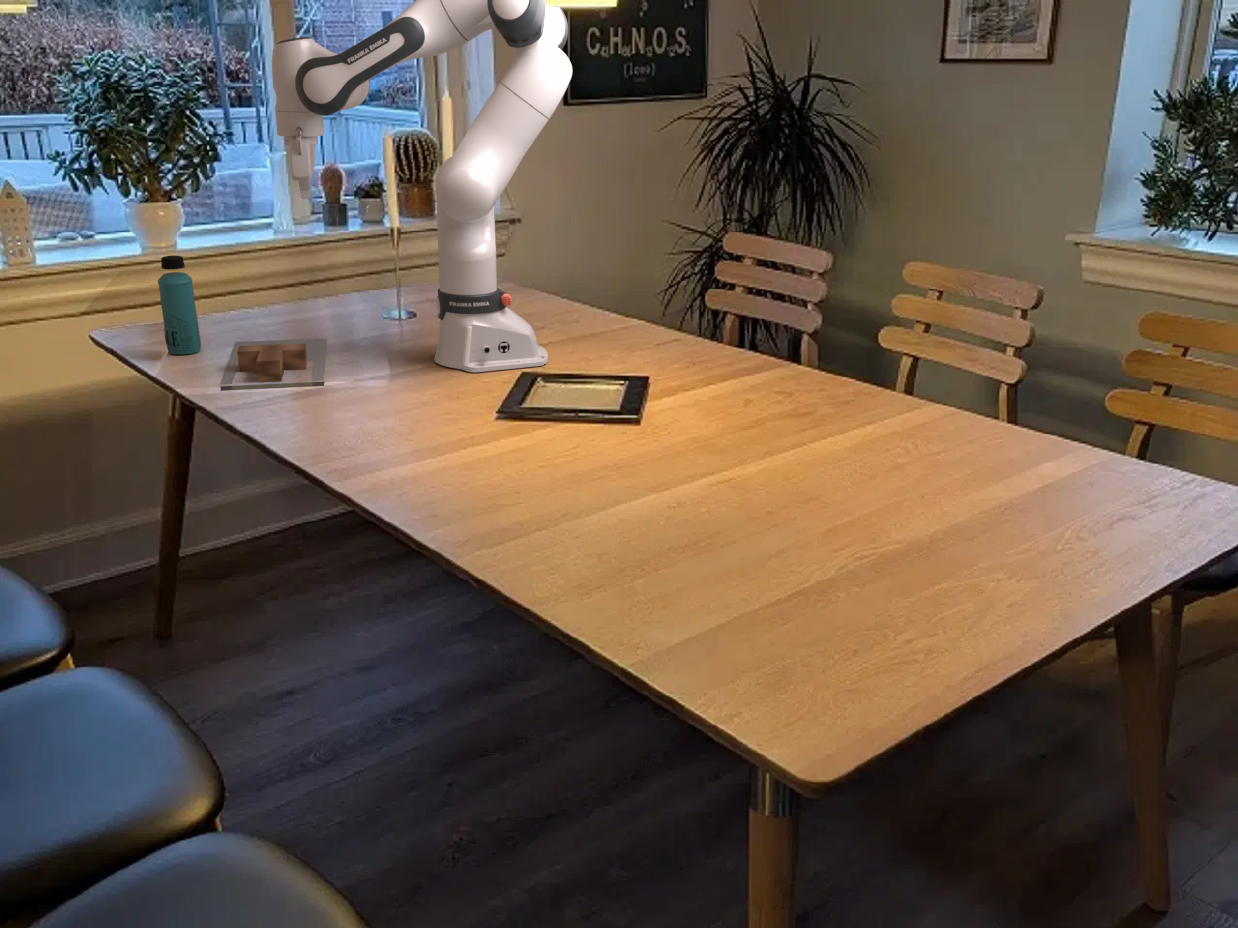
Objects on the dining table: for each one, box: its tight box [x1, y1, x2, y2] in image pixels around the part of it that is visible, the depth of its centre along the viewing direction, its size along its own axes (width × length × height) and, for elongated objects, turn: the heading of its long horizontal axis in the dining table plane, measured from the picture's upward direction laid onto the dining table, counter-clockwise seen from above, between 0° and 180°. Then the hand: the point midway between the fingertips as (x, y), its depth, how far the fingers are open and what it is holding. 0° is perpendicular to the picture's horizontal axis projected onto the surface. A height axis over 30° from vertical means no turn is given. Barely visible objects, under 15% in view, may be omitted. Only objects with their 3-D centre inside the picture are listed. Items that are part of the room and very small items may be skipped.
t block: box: [237, 344, 308, 383], centre depth 206 cm, size 12×11×4 cm
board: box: [219, 338, 327, 392], centre depth 215 cm, size 18×29×1 cm, turn 13°
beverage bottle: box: [157, 255, 202, 355], centre depth 215 cm, size 6×7×20 cm
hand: (305, 198), depth 223 cm, fingers closed
